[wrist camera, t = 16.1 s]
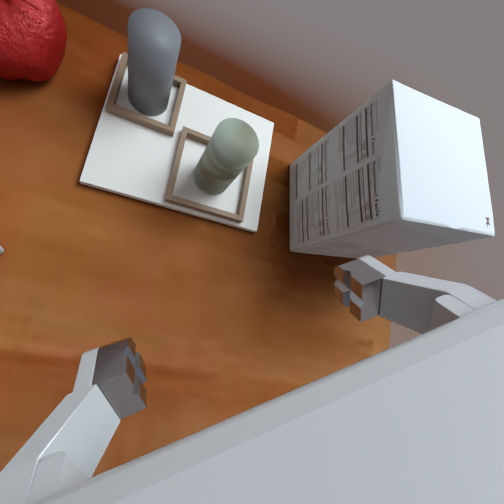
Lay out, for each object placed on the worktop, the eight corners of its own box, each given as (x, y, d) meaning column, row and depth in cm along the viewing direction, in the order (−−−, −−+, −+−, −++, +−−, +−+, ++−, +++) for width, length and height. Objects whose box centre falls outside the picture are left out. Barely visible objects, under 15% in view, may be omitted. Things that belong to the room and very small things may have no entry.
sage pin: (190, 188, 33) (210, 152, 25) (197, 155, 34) (219, 110, 26) (225, 199, 35) (255, 169, 27) (231, 167, 36) (262, 128, 28)
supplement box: (359, 179, 46) (482, 116, 30) (363, 260, 43) (498, 238, 28) (288, 162, 41) (391, 74, 25) (288, 253, 38) (402, 220, 22)
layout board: (80, 183, 29) (60, 133, 21) (120, 59, 33) (118, -29, 24) (254, 232, 37) (295, 211, 28) (271, 126, 40) (312, 77, 31)
